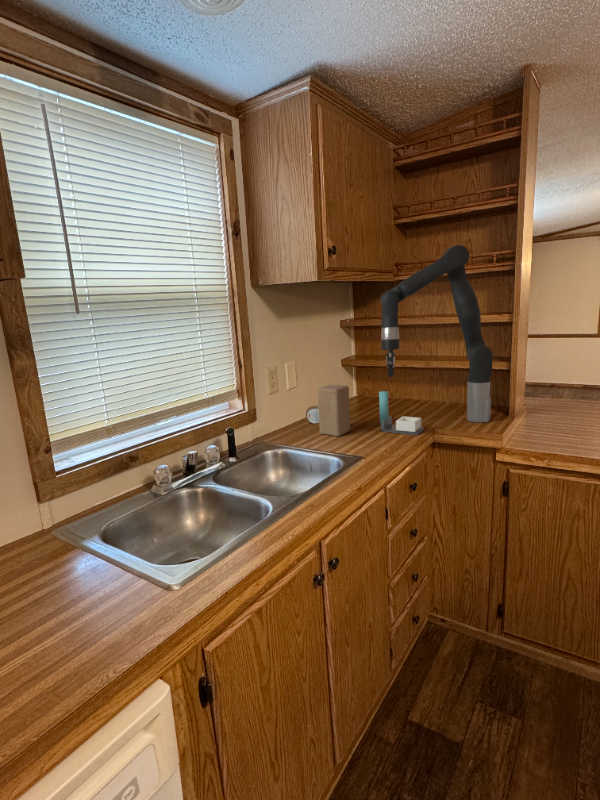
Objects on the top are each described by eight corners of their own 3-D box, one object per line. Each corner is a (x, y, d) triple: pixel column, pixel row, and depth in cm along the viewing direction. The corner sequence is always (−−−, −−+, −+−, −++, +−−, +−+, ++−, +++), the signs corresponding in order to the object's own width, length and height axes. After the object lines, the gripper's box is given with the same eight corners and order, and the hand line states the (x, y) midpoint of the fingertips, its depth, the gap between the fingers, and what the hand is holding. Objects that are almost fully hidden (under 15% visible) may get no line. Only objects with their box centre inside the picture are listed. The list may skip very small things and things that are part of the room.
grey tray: (423, 429, 188) (423, 419, 187) (417, 435, 181) (417, 424, 180) (388, 426, 197) (388, 416, 196) (380, 431, 189) (380, 421, 188)
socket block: (421, 427, 188) (421, 417, 187) (415, 432, 182) (415, 422, 181) (402, 425, 192) (402, 416, 192) (396, 430, 186) (395, 420, 185)
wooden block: (338, 437, 185) (336, 389, 181) (318, 434, 191) (316, 388, 187) (351, 431, 193) (349, 385, 189) (331, 428, 199) (329, 384, 195)
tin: (338, 422, 209) (337, 404, 208) (338, 423, 206) (337, 405, 205) (306, 423, 211) (305, 405, 209) (305, 424, 208) (304, 407, 206)
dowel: (390, 421, 204) (389, 391, 202) (386, 423, 201) (386, 393, 198) (381, 420, 207) (381, 390, 204) (378, 422, 203) (377, 392, 200)
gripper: (398, 338, 185) (399, 377, 187) (399, 337, 199) (400, 374, 201) (380, 338, 187) (381, 377, 189) (382, 338, 200) (383, 375, 202)
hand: (391, 376), depth 195 cm, fingers open, 8 cm apart
